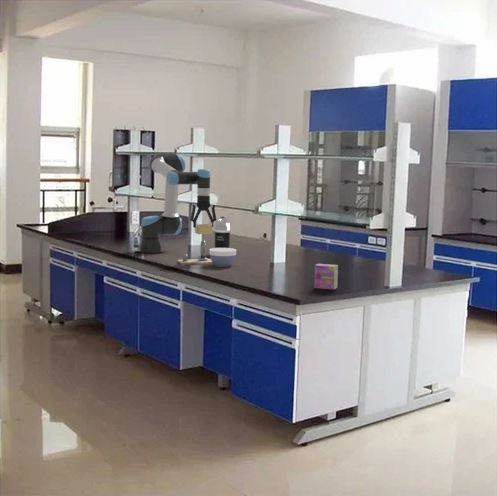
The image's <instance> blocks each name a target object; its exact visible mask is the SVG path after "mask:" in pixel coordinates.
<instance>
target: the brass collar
mask: <svg viewBox="0 0 497 496" xmlns="http://www.w3.org/2000/svg"><path fill="white" fill-rule="evenodd" d="M196 234H197V235H213V227H212V225H209V223H208V224H206V223H205V224H203V223H202V224H200V223H199V224H198V223H197V233H196Z"/></svg>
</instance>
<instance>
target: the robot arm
mask: <svg viewBox="0 0 497 496" xmlns="http://www.w3.org/2000/svg"><path fill="white" fill-rule="evenodd" d="M149 169H151V170H152V171H153V172H154V173H155V174H160V175H161V176H163V177H164V178H165V188H164V208H163V211H164V212H163V213H162V214H161V217H160V216H159V215H148V216H145V217H143V218H142V219H141V224H140V225H141V240H140V245H139V247H138V252H139V253H143V254H144V253H145V254H157V253H162V252H163V248H162V244H161V240H160V236H174V235H178V234H180V233H181V231H182V228H183V220H182V218H181V217H180V214H179V213H178V203H179V185H196V186H197V189H196V190H197V196H196V197H197V198H196V200H197V201H196V203H195V204H192V205H191V207H192V209H191V215H190V221H191V222H192V226H193V228H194V234H197V224H198V222H197V220H198V218H199V217H200V214H201V213H202V212H203V211H205V212H206V214H207V216H208V218H209V220H210V221H208V222H209V223H208V224H209V225H212V228H214V223H215V222H216V221H217V215H216V210H215V207H216V206H215V204H213V203H212V204H211V196H210V194H211V188H210V187H211V170H210V169H208V168H207V169H206V168H199V169H198V170H197V171H185V170H186V161H185V158H184V156H183V155H182V154H180V153H157V154H155V155H152V157H151V158H150V160H149ZM196 208H198V209H197V211H196ZM209 208H211V210H210V209H209ZM210 211H211V212H210Z"/></svg>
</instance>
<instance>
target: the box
mask: <svg viewBox="0 0 497 496" xmlns="http://www.w3.org/2000/svg"><path fill="white" fill-rule="evenodd" d="M314 265H315V266H314V289H322V290H337V288H338V281H339V280H338V279H339V277H338V276H339V265H338V264H330V263H329V264H324V263H316V264H314Z"/></svg>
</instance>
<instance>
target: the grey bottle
mask: <svg viewBox="0 0 497 496" xmlns="http://www.w3.org/2000/svg"><path fill="white" fill-rule="evenodd" d="M214 248H231V223H230V220H228V219H227V218H226V217H225V216H220V217H219V218H218V219H216V221H215V222H214Z"/></svg>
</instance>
